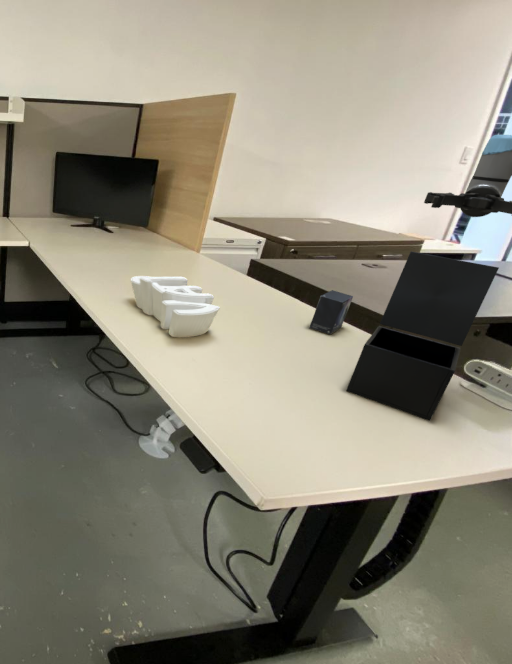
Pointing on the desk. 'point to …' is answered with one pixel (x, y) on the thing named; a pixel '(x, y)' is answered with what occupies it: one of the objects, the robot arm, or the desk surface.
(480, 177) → the robot arm
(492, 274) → the black box lid
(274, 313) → the desk surface
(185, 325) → the white letter sign
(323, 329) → the small box
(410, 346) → the black box body
